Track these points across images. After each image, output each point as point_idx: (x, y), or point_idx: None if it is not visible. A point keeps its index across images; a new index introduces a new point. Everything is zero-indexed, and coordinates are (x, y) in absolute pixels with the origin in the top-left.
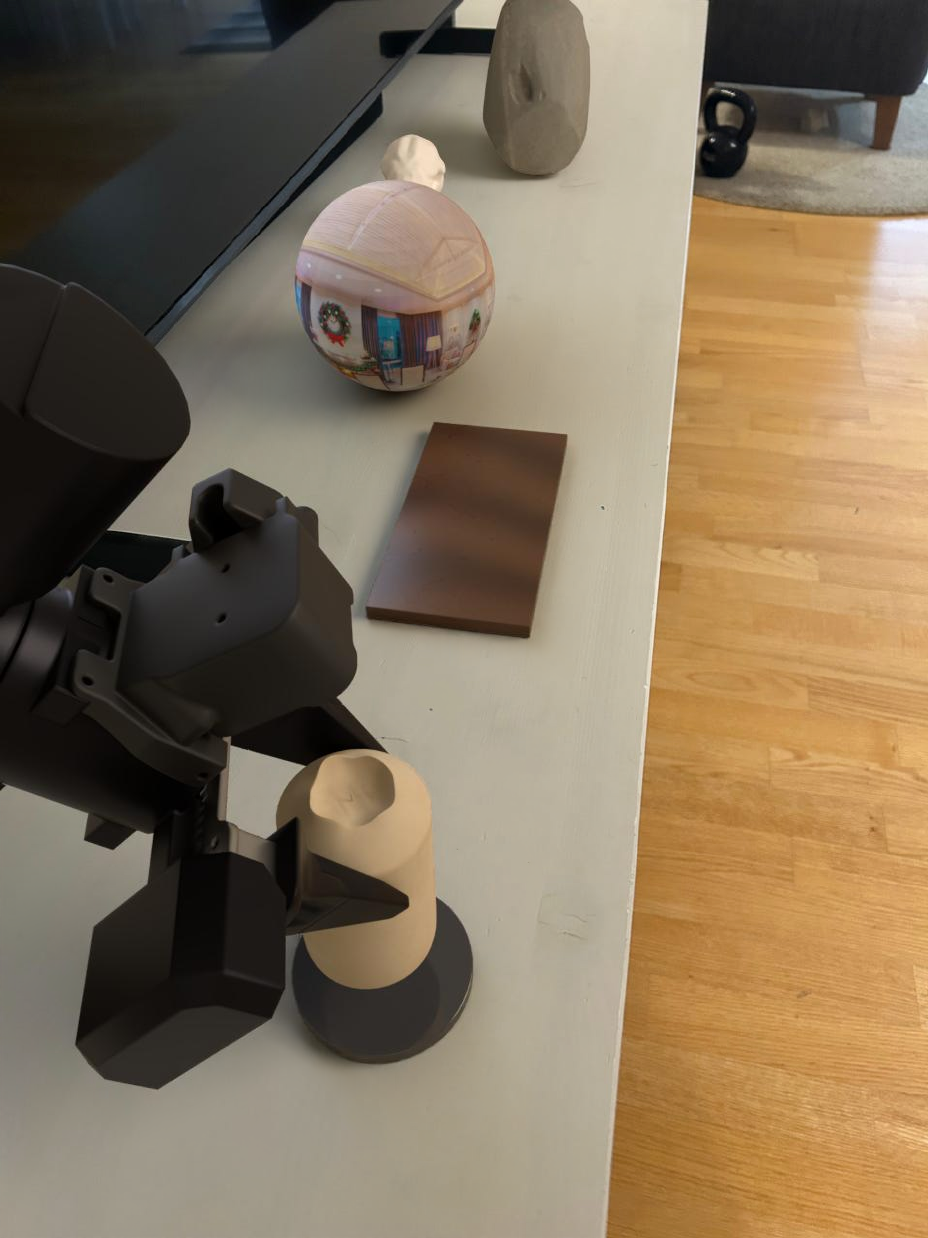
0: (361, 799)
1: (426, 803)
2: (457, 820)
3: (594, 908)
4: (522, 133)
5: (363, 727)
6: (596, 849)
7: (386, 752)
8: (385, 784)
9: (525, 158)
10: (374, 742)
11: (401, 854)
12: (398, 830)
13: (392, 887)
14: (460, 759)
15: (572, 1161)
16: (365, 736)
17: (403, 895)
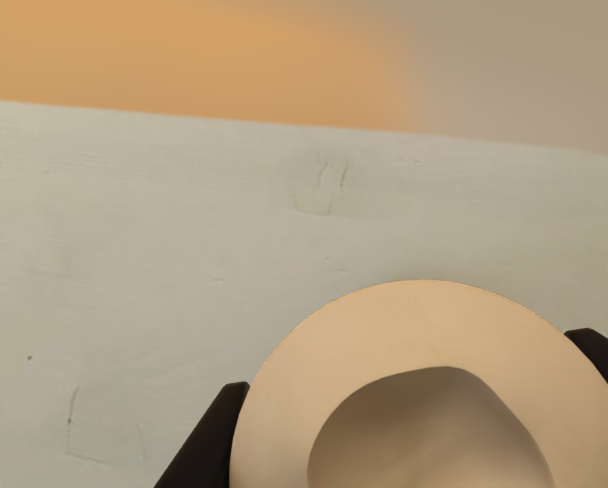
0: (423, 466)
1: (399, 290)
2: (196, 314)
3: (310, 153)
4: None
5: (166, 477)
6: (236, 151)
7: (213, 408)
8: (388, 399)
9: None
10: (199, 441)
11: (562, 341)
12: (522, 351)
13: (599, 363)
14: (108, 314)
15: (592, 175)
16: (193, 469)
17: (581, 340)
